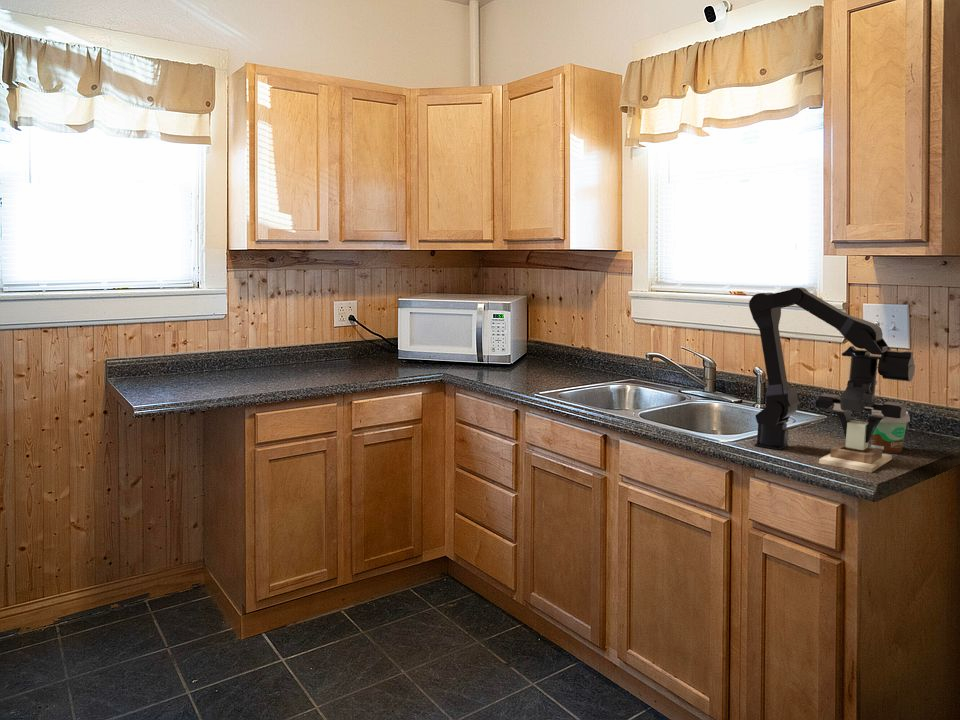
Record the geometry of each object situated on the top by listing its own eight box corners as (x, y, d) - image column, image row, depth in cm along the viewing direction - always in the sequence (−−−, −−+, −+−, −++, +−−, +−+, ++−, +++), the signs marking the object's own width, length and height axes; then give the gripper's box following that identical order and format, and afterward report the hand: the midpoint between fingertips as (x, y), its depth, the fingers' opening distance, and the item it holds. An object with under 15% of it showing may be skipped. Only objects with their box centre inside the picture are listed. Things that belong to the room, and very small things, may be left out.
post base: (818, 463, 184) (819, 450, 184) (841, 450, 197) (842, 439, 197) (871, 472, 177) (872, 459, 176) (891, 459, 189) (892, 447, 189)
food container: (892, 456, 192) (895, 416, 191) (867, 451, 197) (870, 412, 196) (916, 450, 199) (920, 411, 198) (891, 445, 204) (895, 407, 203)
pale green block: (845, 447, 186) (847, 422, 186) (850, 444, 189) (852, 420, 189) (863, 450, 184) (865, 425, 183) (868, 447, 187) (870, 422, 186)
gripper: (810, 375, 184) (805, 439, 186) (897, 385, 172) (890, 454, 174) (826, 370, 193) (821, 432, 195) (909, 379, 180) (903, 445, 182)
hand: (857, 441), depth 186 cm, fingers closed on pale green block, 4 cm apart
